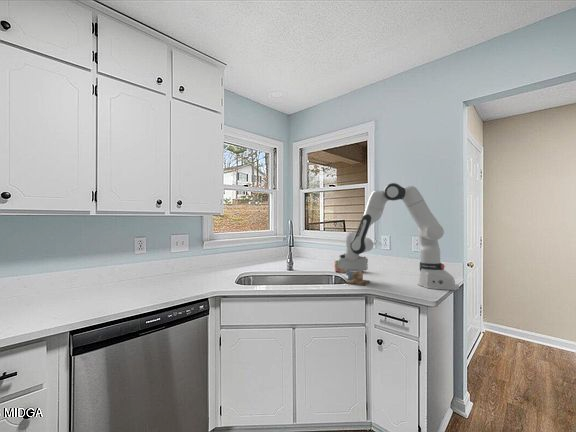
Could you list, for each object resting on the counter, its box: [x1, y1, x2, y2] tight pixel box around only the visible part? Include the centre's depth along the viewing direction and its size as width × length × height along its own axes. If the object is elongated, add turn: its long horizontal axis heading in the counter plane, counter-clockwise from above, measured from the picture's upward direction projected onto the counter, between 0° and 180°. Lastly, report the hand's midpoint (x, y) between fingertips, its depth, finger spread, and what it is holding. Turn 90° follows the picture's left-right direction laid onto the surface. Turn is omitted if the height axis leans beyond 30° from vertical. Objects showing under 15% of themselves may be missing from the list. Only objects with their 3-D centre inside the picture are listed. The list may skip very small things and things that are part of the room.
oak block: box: [353, 272, 364, 282], centre depth 191 cm, size 5×5×5 cm
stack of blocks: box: [334, 255, 364, 273], centre depth 232 cm, size 21×6×12 cm, turn 89°
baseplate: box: [345, 279, 370, 287], centre depth 191 cm, size 12×11×1 cm
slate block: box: [347, 271, 358, 280], centre depth 204 cm, size 5×5×5 cm
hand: (352, 275), depth 204 cm, fingers open, 6 cm apart
